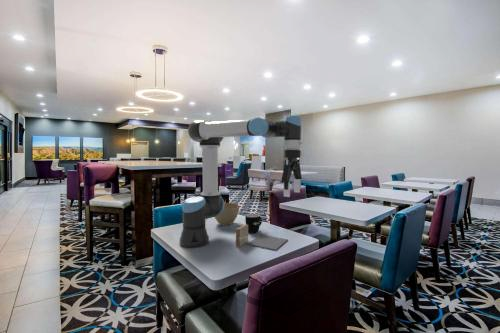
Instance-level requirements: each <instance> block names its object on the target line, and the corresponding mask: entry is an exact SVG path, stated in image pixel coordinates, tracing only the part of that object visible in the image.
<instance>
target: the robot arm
mask: <svg viewBox="0 0 500 333" xmlns="http://www.w3.org/2000/svg"><path fill="white" fill-rule="evenodd" d="M187 132H188V133H187V134H188V136H189V138H190V139H191V140H192V141H194V142H197V143H199V147H200V148H201V149H202V151H201V152H202V161H201V162H202V192H200V194H199V196H193V197H191V196H190V197H188V198H186V199H184V200H183V202H182V208H181V210H182V230H181V233H180V238H179V245H180V246H182V247H183V248H199V247H204V246H206V245H208V244H209V242H210V237H209V235H208V232H207V231H208V230H207V228H206V220H208V219H210V218H215V217H214V216H217V215H218V214H220V213H221V212H222V211H223V209H224V205H225V204H224V203H225V200H224V199H223V197H222V196H221V192H220V191H219V176H218V175H219V169H218V167H219V163H218V162H219V161H218V160H219V157H218V156H219V155H218V152H219V150H218V149H219V148H220V147H221V142H222V141H223V140H224V138H231V137H262V138H284V146H283V148H284V149H285V150H284V156H283V157H284V158H285V160H284V166H283V170H282V175H281V183H283V197H286V198H290V197H291V182H290V180H291V177H292V173H293V176H294V180H293V193H300V192H301V190H300V186H301V184H300V182H301V180H302V178H303V177H302V170H301V163H300V160H301V159H299V158H301V155H302V152H301V151H302V150H301V147H302V140H301V139H302V118H301V116H299V115H286V116H285V117H284V120H280V121H279V120H277V121H275V120H270V119H265V118H263V117H253V118H251V119H238V120H237V119H235V120H234V119H233V120H223V121H222V120H221V121H208V120H202V119H201V120H200V119H197V120H194V121H192V122H190V124H189V125H188V129H187Z"/></svg>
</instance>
